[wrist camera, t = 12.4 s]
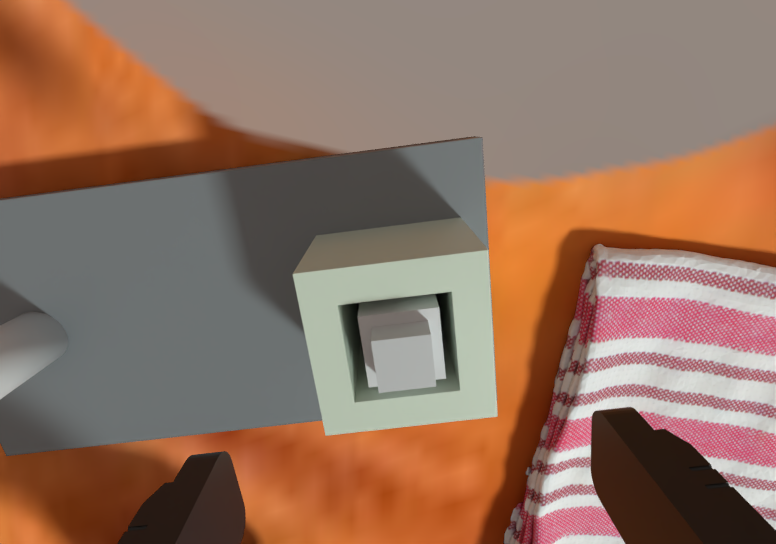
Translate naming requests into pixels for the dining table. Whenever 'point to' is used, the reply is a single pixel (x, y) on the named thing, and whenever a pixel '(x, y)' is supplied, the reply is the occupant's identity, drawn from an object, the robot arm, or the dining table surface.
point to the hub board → (206, 294)
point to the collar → (388, 281)
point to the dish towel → (658, 381)
